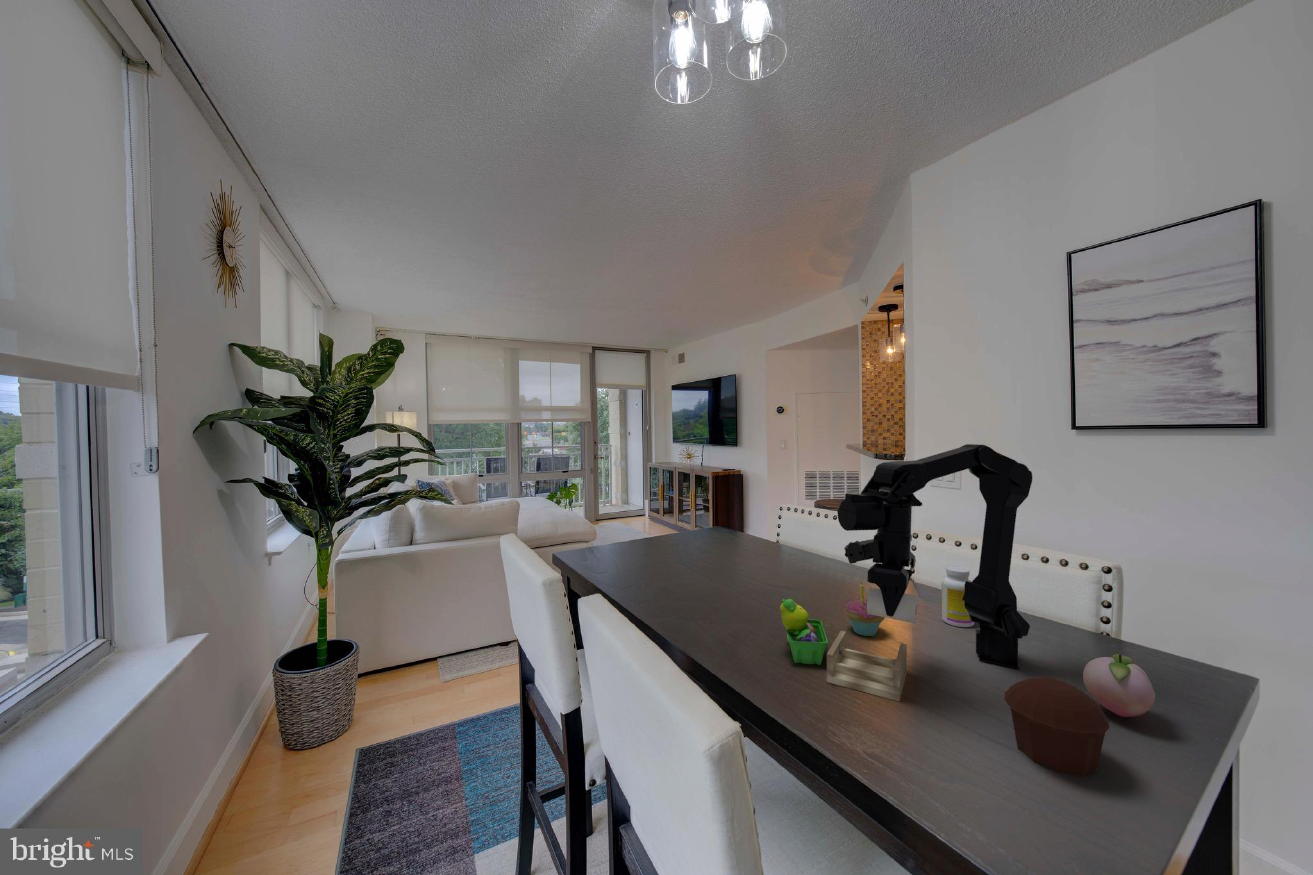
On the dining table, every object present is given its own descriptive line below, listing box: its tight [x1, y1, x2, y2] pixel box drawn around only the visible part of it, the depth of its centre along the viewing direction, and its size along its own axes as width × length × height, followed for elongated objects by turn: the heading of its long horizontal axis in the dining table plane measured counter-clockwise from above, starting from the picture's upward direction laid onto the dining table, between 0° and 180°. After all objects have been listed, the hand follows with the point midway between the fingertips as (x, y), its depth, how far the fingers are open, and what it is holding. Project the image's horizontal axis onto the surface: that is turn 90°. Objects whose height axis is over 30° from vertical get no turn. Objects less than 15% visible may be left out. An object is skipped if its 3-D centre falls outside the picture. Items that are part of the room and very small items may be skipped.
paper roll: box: [866, 587, 918, 624], centre depth 91 cm, size 8×5×5 cm, turn 57°
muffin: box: [1003, 676, 1110, 777], centre depth 68 cm, size 12×11×10 cm
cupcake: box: [844, 581, 886, 637], centre depth 110 cm, size 9×8×12 cm
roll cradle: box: [826, 630, 908, 702], centre depth 90 cm, size 12×12×5 cm
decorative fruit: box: [1082, 653, 1156, 718], centre depth 77 cm, size 9×8×10 cm
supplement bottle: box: [941, 565, 975, 628], centre depth 114 cm, size 7×7×13 cm
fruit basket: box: [779, 598, 829, 666], centre depth 99 cm, size 11×9×11 cm
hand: (891, 611), depth 91 cm, fingers closed on paper roll, 5 cm apart
